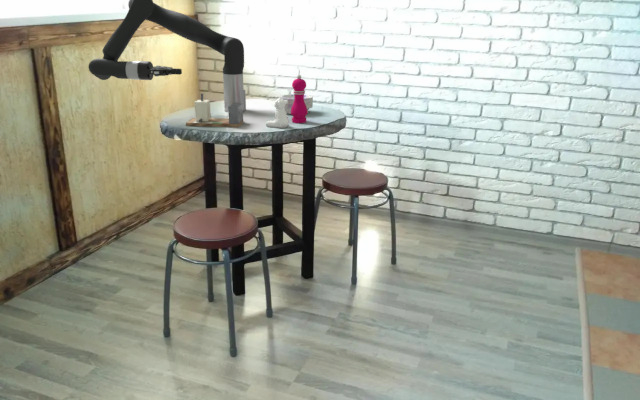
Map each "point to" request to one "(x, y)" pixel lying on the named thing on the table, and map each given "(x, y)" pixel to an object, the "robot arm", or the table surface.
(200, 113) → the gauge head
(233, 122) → the grey rectangular block
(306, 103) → the paper bowls
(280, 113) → the white creature statuette
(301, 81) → the pepper mill
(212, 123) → the brown wooden board
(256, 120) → the table surface
